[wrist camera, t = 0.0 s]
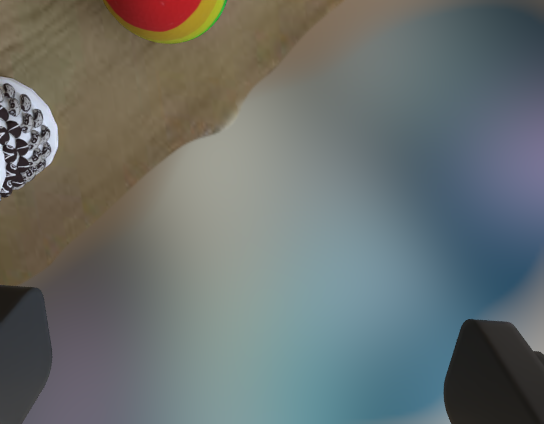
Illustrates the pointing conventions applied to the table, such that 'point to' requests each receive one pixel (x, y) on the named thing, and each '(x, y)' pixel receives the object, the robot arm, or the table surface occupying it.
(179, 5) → the decorative egg
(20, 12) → the table surface
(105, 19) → the table surface
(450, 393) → the robot arm
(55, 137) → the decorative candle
